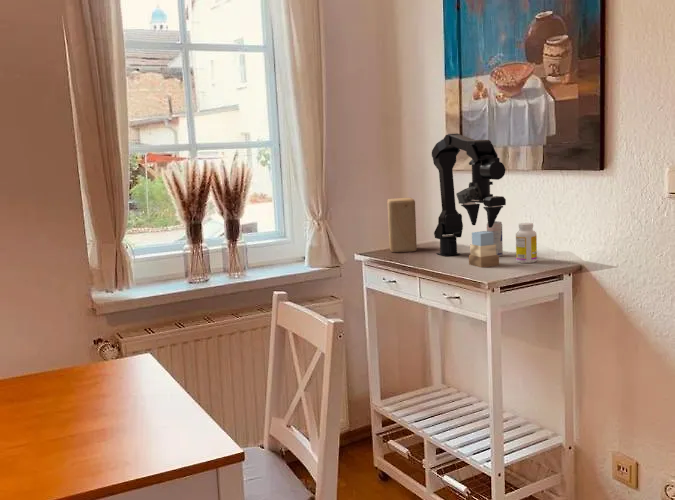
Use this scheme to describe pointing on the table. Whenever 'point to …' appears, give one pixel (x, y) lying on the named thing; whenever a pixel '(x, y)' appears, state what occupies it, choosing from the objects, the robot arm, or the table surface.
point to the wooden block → (402, 225)
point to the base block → (484, 261)
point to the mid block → (483, 250)
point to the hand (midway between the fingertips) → (481, 226)
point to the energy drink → (497, 236)
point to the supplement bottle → (526, 244)
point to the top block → (482, 238)
